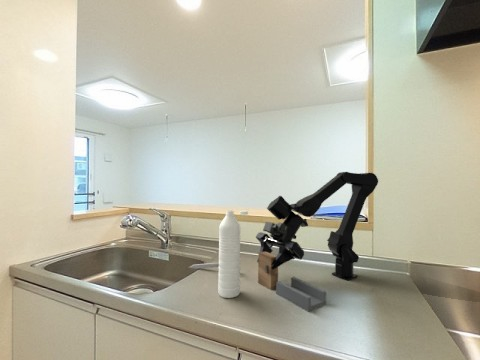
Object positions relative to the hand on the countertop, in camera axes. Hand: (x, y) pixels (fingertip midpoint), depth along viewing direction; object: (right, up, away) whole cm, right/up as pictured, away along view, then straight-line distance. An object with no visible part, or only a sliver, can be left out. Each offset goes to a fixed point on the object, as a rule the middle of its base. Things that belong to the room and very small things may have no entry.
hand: (264, 265), depth 76 cm
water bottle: (-10, -7, -6) cm, 13 cm away
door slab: (+1, -7, +1) cm, 7 cm away
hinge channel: (+9, -7, -8) cm, 14 cm away
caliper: (-18, -7, +13) cm, 23 cm away
